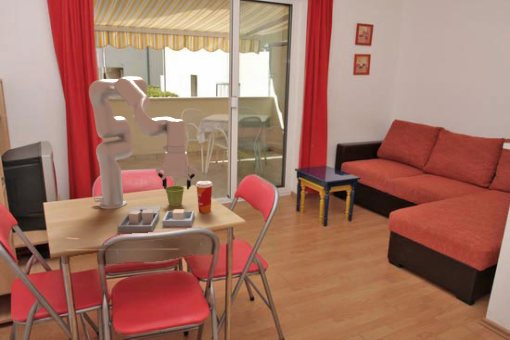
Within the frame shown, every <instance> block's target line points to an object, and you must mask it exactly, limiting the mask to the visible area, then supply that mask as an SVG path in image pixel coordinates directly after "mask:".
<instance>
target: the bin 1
mask: <svg viewBox="0 0 510 340" xmlns="http://www.w3.org/2000/svg"><path fill="white" fill-rule="evenodd" d="M127 213H128V212H127ZM127 213H126V214H127ZM126 214H125V215H126ZM125 215H124V217H123V219H122V220H121V221H120V222H119V224H118V225H117V232H118V233H146V232H147V233H149V232H150V233H152V232H153V231H154V229H155V228H156V226H157V223H158V222H159V220H160V212H158V213H154V219H153V221H152V223H143V221H142V220H141V221H140V222H139V223H129V213H128V214H127V215H126V216H125Z"/></svg>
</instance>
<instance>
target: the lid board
mask: <svg viewBox="0 0 510 340" xmlns="http://www.w3.org/2000/svg"><path fill="white" fill-rule="evenodd" d="M161 208H162V206H161V205H159V206H158V205H157V206H156V205H155V206H152V205H151V206H147V205H146V206H145V205H144V206H140V205H139V206H138V205H137V206H135V205H134V206H131V208H130V209H129V210H128V212H127V213H126V214H125V215H124V217H125V216H126V215H127V214H128V213H130V212H131V211H141V213H142V211H143V210H148V209H154V213H160V212H159V211H160V209H161Z"/></svg>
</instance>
